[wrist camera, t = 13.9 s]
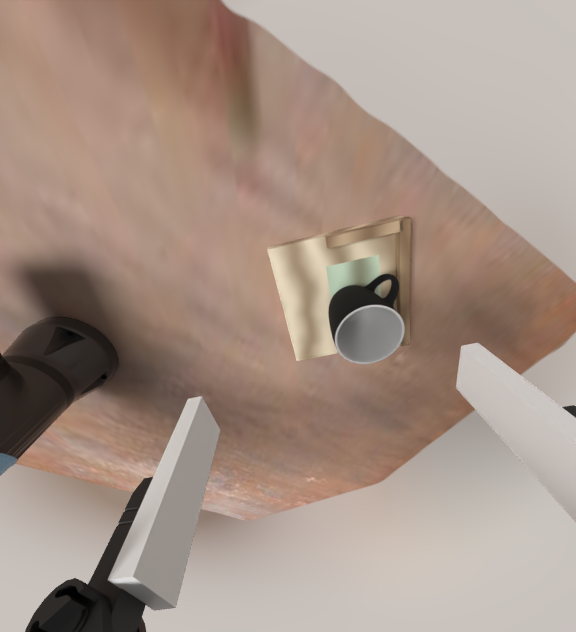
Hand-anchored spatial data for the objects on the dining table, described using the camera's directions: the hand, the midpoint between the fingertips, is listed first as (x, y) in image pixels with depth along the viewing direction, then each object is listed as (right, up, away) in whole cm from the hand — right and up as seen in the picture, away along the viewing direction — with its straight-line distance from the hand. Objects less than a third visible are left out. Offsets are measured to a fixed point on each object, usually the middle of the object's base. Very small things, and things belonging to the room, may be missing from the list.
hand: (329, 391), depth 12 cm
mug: (+9, +7, +27) cm, 29 cm away
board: (+7, +8, +29) cm, 30 cm away
